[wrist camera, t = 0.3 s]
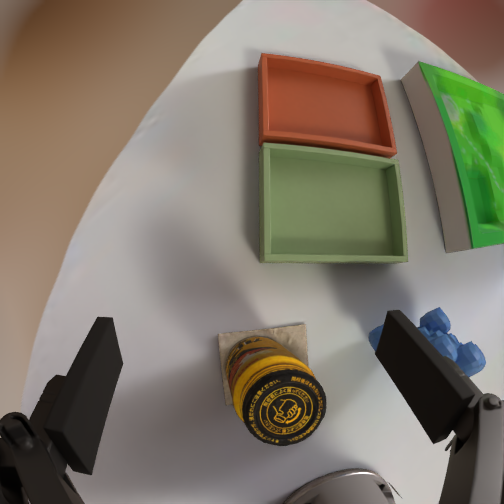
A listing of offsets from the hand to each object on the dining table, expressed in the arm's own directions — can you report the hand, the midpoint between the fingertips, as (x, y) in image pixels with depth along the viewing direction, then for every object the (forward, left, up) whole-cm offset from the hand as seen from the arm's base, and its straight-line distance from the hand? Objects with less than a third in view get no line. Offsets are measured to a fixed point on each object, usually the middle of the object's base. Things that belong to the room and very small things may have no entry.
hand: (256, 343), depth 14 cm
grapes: (-3, -18, -15) cm, 24 cm away
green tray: (+10, -10, -15) cm, 21 cm away
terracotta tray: (+22, -10, -15) cm, 29 cm away
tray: (+20, -37, -15) cm, 45 cm away
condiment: (-5, -3, -15) cm, 16 cm away
